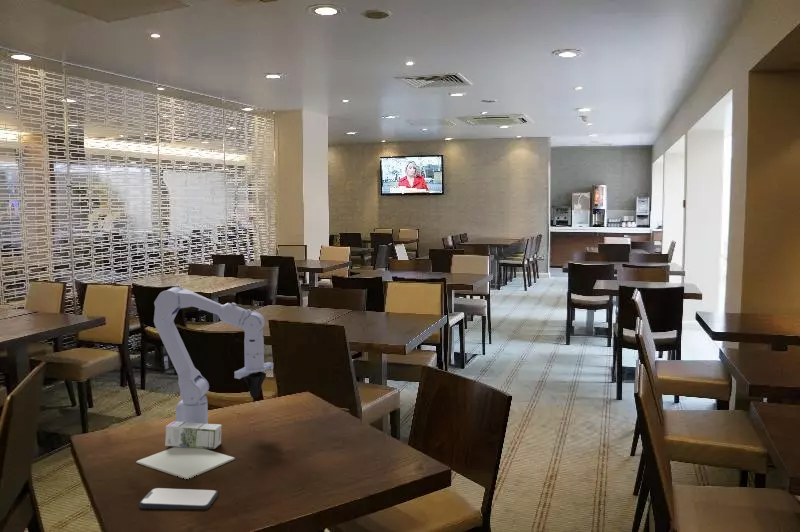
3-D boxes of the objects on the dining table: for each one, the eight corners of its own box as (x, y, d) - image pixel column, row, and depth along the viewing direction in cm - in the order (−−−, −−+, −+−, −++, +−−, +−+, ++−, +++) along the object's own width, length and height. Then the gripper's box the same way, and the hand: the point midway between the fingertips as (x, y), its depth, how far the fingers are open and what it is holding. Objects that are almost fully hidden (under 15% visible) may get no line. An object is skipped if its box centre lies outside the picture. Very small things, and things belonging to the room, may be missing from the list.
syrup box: (222, 424, 192) (173, 420, 193) (215, 429, 186) (164, 426, 187) (221, 443, 192) (172, 440, 193) (214, 449, 186) (163, 446, 187)
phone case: (219, 496, 159) (153, 493, 160) (219, 489, 159) (153, 487, 159) (207, 513, 150) (137, 510, 151) (207, 506, 150) (137, 503, 151)
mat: (136, 462, 177) (136, 461, 177) (184, 444, 191) (184, 443, 191) (187, 479, 167) (187, 477, 167) (234, 459, 180) (234, 457, 180)
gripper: (246, 359, 193) (246, 405, 194) (280, 350, 205) (281, 393, 206) (228, 356, 197) (229, 401, 198) (263, 347, 209) (264, 389, 210)
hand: (254, 396), depth 202 cm, fingers closed
